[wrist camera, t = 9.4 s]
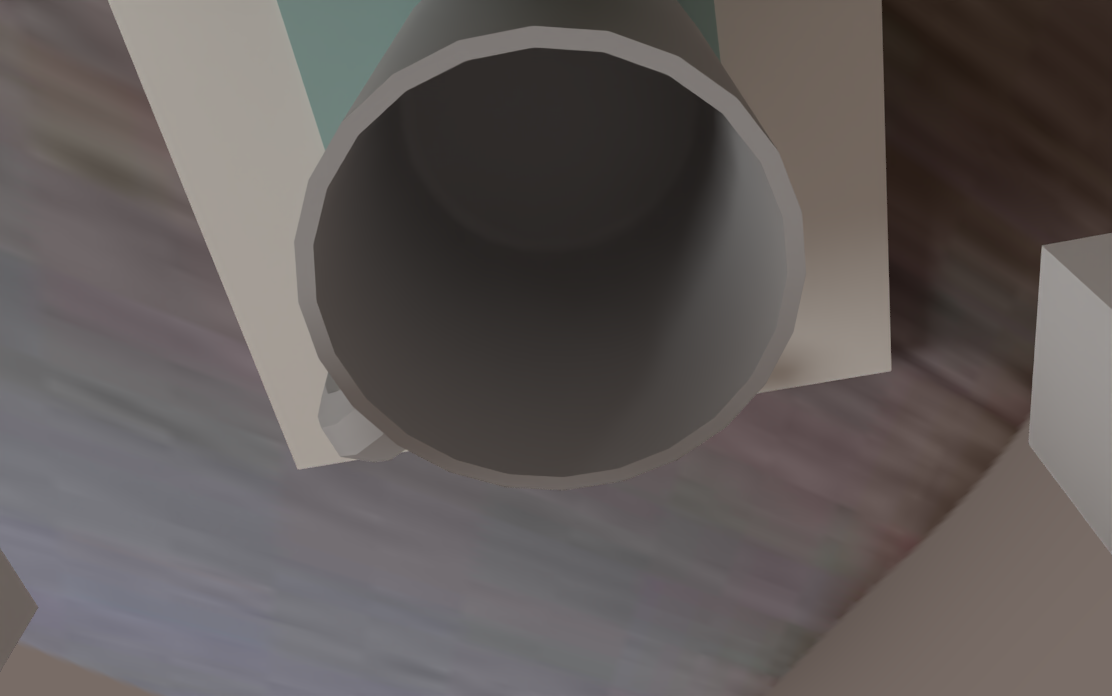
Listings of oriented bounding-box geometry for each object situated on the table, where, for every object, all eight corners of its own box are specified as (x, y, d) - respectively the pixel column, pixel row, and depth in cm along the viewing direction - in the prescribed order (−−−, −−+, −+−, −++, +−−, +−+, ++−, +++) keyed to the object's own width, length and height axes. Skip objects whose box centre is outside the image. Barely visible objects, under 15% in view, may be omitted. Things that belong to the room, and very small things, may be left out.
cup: (780, 96, 21) (912, 267, 14) (490, 385, 25) (465, 650, 17) (533, -148, 19) (523, -109, 11) (252, 212, 23) (98, 429, 15)
